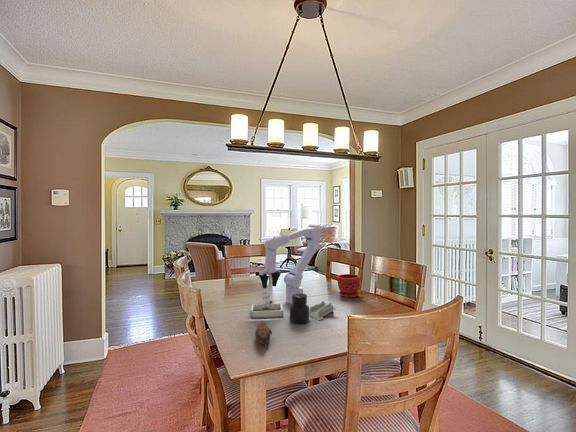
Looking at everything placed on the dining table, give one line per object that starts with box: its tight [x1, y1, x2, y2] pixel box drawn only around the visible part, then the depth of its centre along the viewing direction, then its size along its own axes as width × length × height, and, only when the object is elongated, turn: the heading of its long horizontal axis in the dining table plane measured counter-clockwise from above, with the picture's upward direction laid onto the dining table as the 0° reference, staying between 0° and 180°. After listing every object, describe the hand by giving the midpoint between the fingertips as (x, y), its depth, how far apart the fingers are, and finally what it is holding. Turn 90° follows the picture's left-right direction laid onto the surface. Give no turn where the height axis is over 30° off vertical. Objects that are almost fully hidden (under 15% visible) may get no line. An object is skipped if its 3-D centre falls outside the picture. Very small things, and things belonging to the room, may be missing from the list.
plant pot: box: [336, 273, 361, 298], centre depth 189 cm, size 13×13×12 cm
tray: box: [250, 302, 284, 320], centre depth 155 cm, size 15×12×4 cm
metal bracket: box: [309, 301, 338, 322], centre depth 156 cm, size 14×6×15 cm
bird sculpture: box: [254, 321, 273, 348], centre depth 125 cm, size 7×25×5 cm, turn 8°
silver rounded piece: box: [261, 292, 272, 311], centre depth 156 cm, size 4×4×10 cm
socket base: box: [259, 299, 275, 304], centre depth 167 cm, size 8×8×2 cm
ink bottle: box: [289, 293, 310, 325], centre depth 146 cm, size 10×9×12 cm
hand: (269, 287), depth 168 cm, fingers open, 7 cm apart
